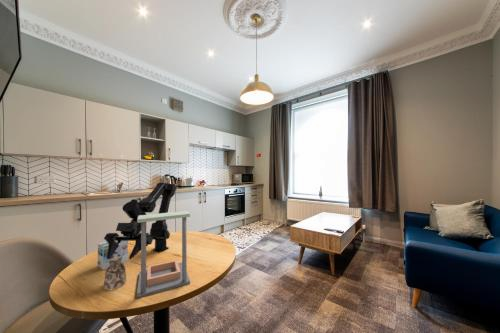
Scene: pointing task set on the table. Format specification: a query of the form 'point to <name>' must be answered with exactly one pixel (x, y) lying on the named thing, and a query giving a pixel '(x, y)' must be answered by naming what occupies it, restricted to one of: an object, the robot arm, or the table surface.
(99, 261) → the light bulb box
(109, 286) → the figurine
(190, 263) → the table surface
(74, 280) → the table surface
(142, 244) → the awning stand
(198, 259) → the table surface
